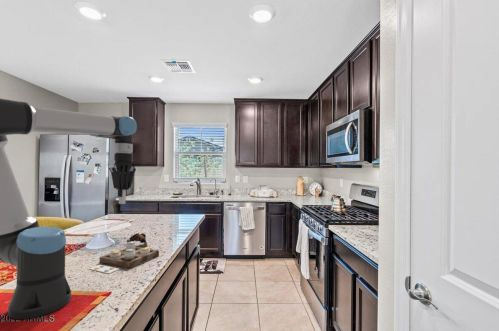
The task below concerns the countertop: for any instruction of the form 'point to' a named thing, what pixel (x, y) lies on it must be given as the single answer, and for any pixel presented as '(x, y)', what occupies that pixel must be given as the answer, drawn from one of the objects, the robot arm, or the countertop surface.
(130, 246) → the button outer left
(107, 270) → the pattern card
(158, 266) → the countertop surface
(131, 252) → the button inner right
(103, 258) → the button board
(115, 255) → the button inner left
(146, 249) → the button outer right
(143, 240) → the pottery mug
